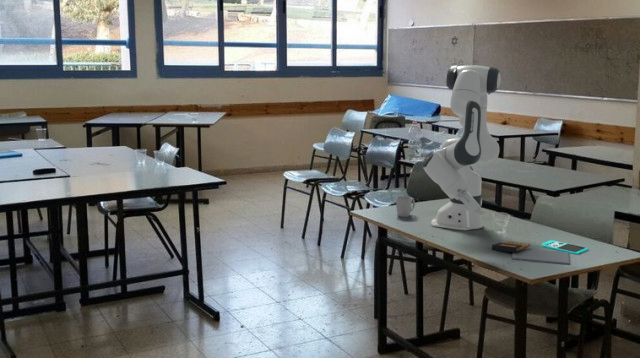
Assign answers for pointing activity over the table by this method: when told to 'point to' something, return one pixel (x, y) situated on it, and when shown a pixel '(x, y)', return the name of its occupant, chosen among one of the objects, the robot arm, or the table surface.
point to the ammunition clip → (510, 246)
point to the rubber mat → (542, 256)
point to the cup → (404, 206)
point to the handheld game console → (564, 247)
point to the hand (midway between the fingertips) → (481, 213)
